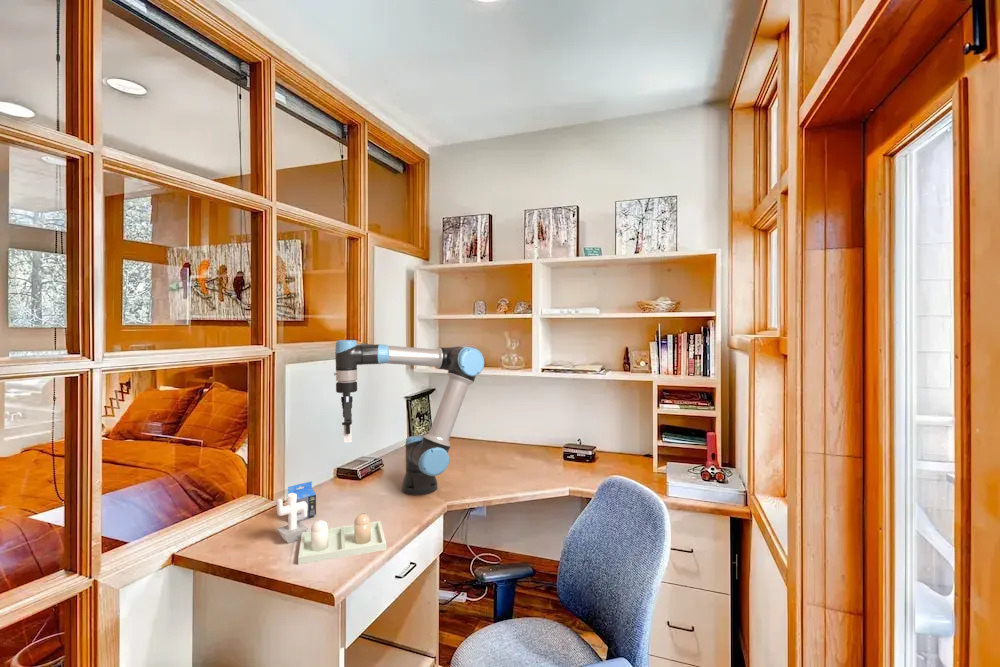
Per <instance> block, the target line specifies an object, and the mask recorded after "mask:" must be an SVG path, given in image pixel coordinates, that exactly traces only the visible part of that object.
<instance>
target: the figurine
mask: <svg viewBox="0 0 1000 667" xmlns="http://www.w3.org/2000/svg"><path fill="white" fill-rule="evenodd" d="M296 499H297V494H295V493H289V494H288V493H287V502H286V503H287V505H285V506H284V505H283V504H284V502H283V501H284V500H283V499H282V498H277V500H276V513H277V516H278V517H283V516H286V515H287V525H283V526H281V527H277V531H278V532H279V534H280V536H281V537H282V540H283V541H285V542H286V543H287V544H291V543H295V542H297V541H298V539H301V535H302V532H308V526H306V525H304V524H303V523H302V522H301V521H298V522H297V511H301V513H302V517H303V518H305V517H307V503H306V502H305V501H302V502H298V503H296Z"/></svg>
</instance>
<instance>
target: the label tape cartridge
mask: <svg viewBox="0 0 1000 667" xmlns="http://www.w3.org/2000/svg"><path fill="white" fill-rule="evenodd" d="M300 487H301V488H300ZM298 488H299V489H298ZM287 491H288V492H287V495H288V494H289V493H295V494H297V499H296V503H298V502H302V501H305V502H306V503H307V517H305V518H303V517H302V513H301V511H297V522H301V521H305V520H309V519H312V518H315V517H317V494H316V492H315V491H314V489H313V484H312V481H307V482H304V483H298V484H295V485H290V486H288V487H287Z"/></svg>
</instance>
